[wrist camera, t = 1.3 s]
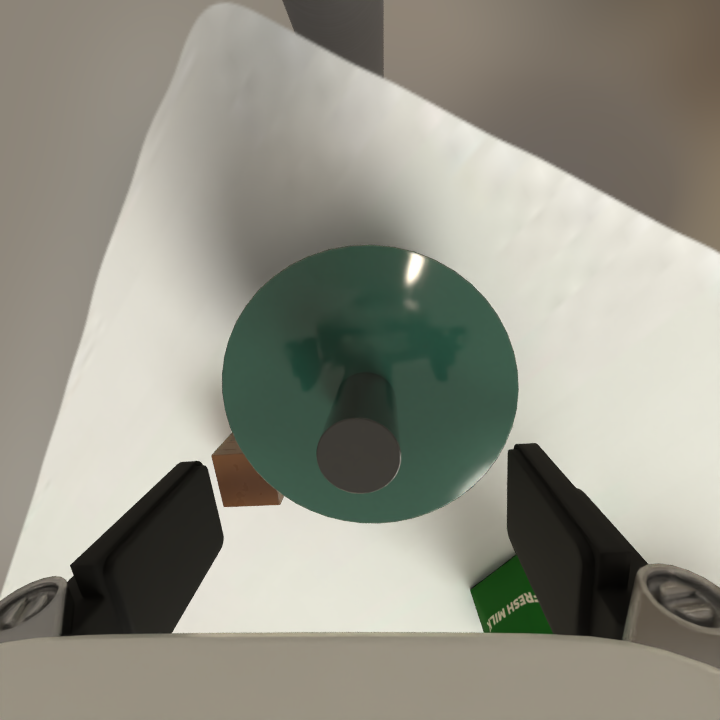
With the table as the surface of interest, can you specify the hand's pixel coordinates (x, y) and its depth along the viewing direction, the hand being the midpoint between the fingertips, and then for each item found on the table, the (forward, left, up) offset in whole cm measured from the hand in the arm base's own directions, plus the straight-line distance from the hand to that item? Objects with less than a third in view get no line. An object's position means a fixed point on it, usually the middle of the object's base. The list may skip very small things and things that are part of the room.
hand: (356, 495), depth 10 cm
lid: (0, 0, -7) cm, 7 cm away
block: (+8, -10, -17) cm, 21 cm away
